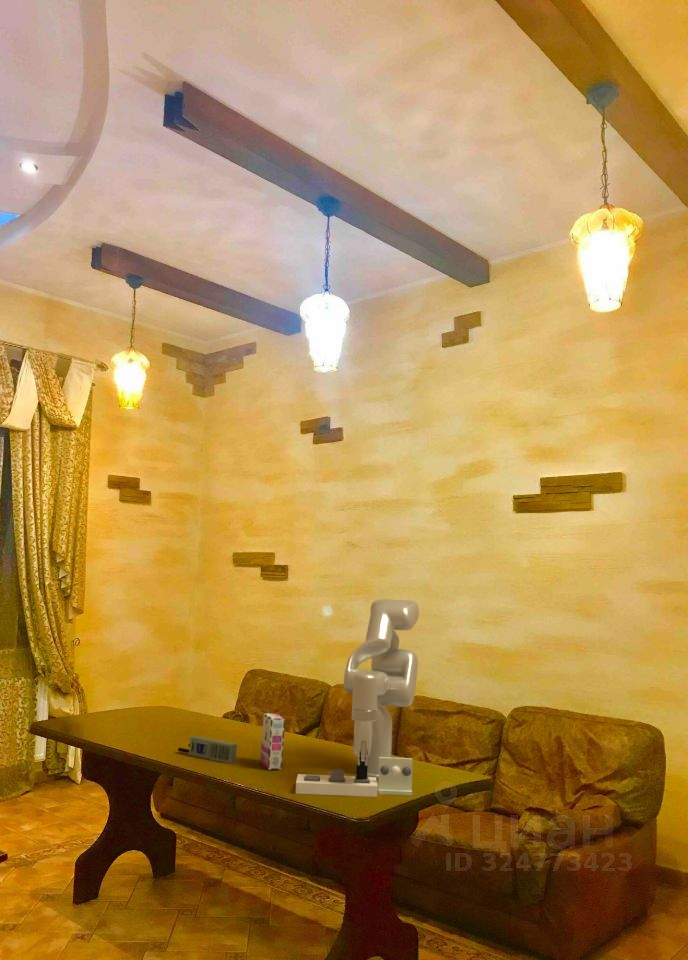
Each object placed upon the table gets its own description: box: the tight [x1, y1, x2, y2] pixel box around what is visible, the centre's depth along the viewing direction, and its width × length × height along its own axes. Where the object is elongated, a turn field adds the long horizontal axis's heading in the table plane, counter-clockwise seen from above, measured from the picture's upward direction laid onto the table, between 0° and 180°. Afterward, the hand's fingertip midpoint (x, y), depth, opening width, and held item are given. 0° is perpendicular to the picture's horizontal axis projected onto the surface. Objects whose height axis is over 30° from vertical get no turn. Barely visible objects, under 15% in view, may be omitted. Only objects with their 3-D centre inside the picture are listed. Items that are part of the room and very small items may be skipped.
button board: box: [295, 773, 378, 798], centre depth 215 cm, size 24×10×3 cm, turn 90°
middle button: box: [330, 768, 345, 782], centre depth 215 cm, size 4×4×3 cm
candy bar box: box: [259, 712, 286, 771], centre depth 242 cm, size 11×5×16 cm, turn 21°
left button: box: [305, 774, 319, 781], centre depth 215 cm, size 4×4×3 cm
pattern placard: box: [377, 756, 413, 796], centre depth 216 cm, size 10×4×10 cm, turn 90°
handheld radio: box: [177, 735, 238, 765], centre depth 249 cm, size 7×3×25 cm
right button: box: [354, 775, 369, 783], centre depth 215 cm, size 4×4×3 cm
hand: (361, 778), depth 215 cm, fingers closed
